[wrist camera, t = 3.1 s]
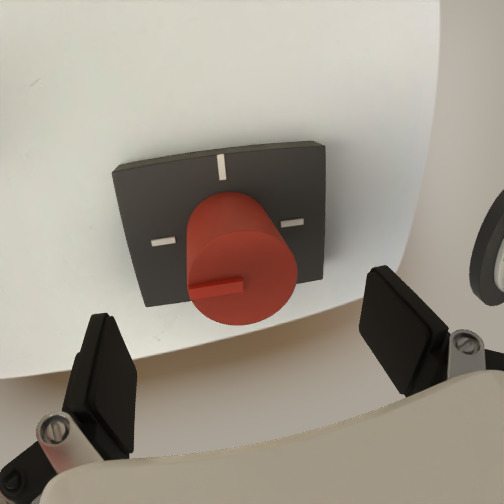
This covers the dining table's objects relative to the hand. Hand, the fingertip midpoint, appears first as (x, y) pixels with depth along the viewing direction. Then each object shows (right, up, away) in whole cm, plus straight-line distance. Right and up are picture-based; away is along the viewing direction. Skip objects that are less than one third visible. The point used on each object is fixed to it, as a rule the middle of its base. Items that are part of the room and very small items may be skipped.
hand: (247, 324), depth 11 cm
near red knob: (-1, +4, +7) cm, 8 cm away
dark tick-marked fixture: (-2, +5, +9) cm, 10 cm away
